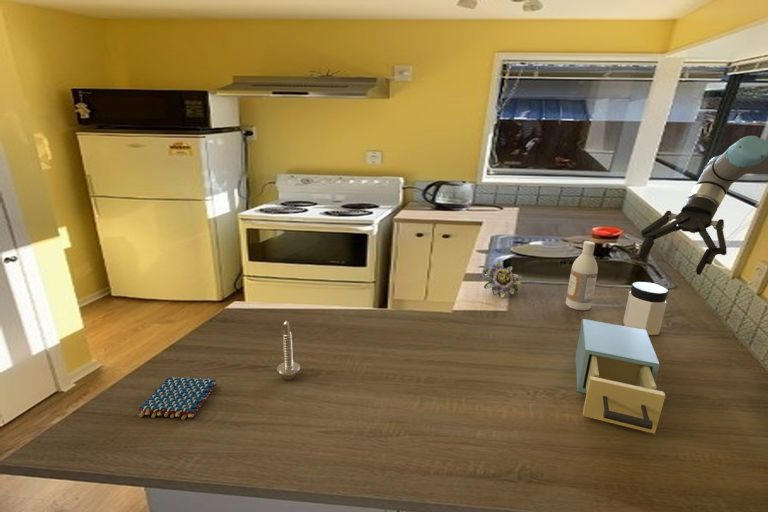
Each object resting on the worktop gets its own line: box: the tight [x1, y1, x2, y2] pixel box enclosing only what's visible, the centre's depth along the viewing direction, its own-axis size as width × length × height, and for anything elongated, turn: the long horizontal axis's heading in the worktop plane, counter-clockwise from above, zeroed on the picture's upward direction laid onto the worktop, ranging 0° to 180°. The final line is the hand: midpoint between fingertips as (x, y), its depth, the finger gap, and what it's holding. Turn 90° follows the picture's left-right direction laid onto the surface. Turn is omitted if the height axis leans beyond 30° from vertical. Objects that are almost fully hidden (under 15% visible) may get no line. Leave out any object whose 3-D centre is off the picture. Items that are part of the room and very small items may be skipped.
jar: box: [622, 281, 669, 336], centre depth 113 cm, size 9×8×12 cm
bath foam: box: [565, 240, 599, 311], centre depth 124 cm, size 7×7×20 cm
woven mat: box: [138, 376, 218, 421], centre depth 81 cm, size 10×11×2 cm
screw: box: [276, 320, 302, 381], centre depth 87 cm, size 13×5×5 cm
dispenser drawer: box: [582, 354, 666, 435], centre depth 79 cm, size 19×12×8 cm, turn 158°
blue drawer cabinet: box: [574, 318, 661, 394], centre depth 90 cm, size 15×13×10 cm
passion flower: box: [482, 261, 522, 299], centre depth 135 cm, size 11×11×12 cm
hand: (668, 264), depth 114 cm, fingers open, 13 cm apart
